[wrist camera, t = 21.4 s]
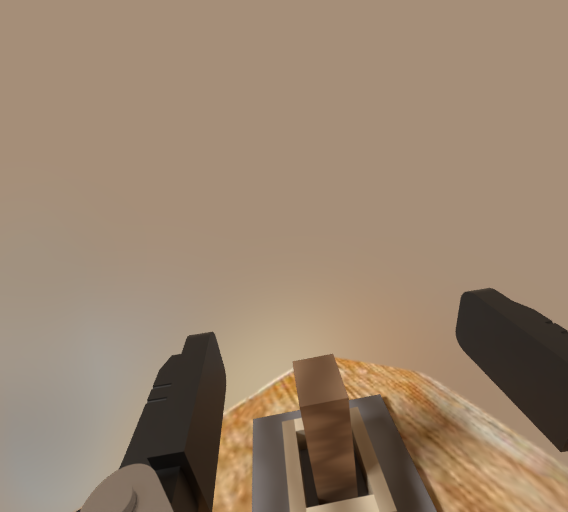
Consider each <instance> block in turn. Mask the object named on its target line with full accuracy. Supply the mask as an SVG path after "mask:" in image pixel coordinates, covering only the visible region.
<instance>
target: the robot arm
mask: <svg viewBox="0 0 568 512" xmlns="http://www.w3.org/2000/svg"><path fill="white" fill-rule="evenodd" d="M456 338H457V340H458V343H459V345H460V346H461V348H462V349H463V351H464V352H465V353H466V354H467V355H468V356H469V357H470V358H471V359H472V360H473V361H474V362H475V363H476V364H477V365H478V366H479V367H480V368H481V369H482V370H483V371H484V372H485V374H486V375H488V376H489V378H490V379H491V380H492V381H493V382H494V383H495V384H496V385H497V386H498V387H499V388H500V389H501V390H502V391H503V392H504V393H505V394H506V395H507V396H508V398H509V399H511V401H512V402H513V403H514V404H515V405H516V406H517V407H518V408H519V409H520V410H521V411H522V412H523V413H524V414H525V415H526V416H527V417H528V418H529V419H530V420H531V421H532V422H533V424H534V425H535V426H536V427H537V428H538V429H539V430H540V431H541V432H542V433H543V434H544V435H545V436H546V437H547V438H548V439H549V440H550V441H551V442H552V443H553V444H554V445H555V447H556V448H557V449H558V450H559V451H560V452H565V451H568V331H567V330H566V329H564V328H562V327H561V326H559V325H558V324H556V323H554V324H553V323H552V321H551V320H550V319H548V318H546V317H545V316H543V315H542V314H540V313H538V312H537V311H535V310H534V309H531V308H529V307H526V306H524V305H521V304H519V303H516V302H514V301H512V300H510V299H509V298H507V297H506V296H504V295H503V294H501V293H499V292H498V291H496V290H495V289H491V288H487V289H481V290H474V291H468V292H465V293H463V295H462V296H461V300H460V306H459V312H458V318H457V325H456ZM225 392H226V374H225V369H224V364H223V361H222V357H221V354H220V350H219V347H218V343H217V340H216V337H215V334H214V333H213V332H208V333H202V334H196V335H189V336H188V337H187V339H186V342H185V345H184V348H183V351H182V354H178V355H172V356H171V357H170V358H169V359H168V361H167V362H166V363H165V364H164V365H163V367H162V368H161V369H160V370H159V372H158V375H157V378H156V380H155V382H154V385H153V389H152V390H151V392H150V395H149V397H148V399H147V401H148V402H147V404H146V405H145V407H144V409H143V412H142V415H141V417H140V419H139V422H138V424H137V427H136V429H135V432H134V434H133V437H132V439H131V442H130V444H129V446H128V449H127V451H126V454H125V456H124V459H123V461H122V463H121V466H120V468H119V470H117V471H115V472H114V473H112V474H111V475H110V476H108V477H107V478H106V479H105V480H103V482H101V483H100V484H99V485H98V486H97V487H96V489H95V490H94V491H93V492H92V493H91V495H90V496H89V497H88V499H87V500H86V502H85V503H84V505H83V507H82V509H80V510H78V511H77V512H212V507H213V498H214V489H215V480H216V472H217V463H218V454H219V445H220V437H221V428H222V419H223V410H224V402H225Z"/></svg>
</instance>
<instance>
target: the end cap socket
mask: <svg viewBox="0 0 568 512" xmlns="http://www.w3.org/2000/svg"><path fill="white" fill-rule="evenodd" d="M349 408H350V418H351V429H352V439H353V449H354V460H355V470H356V480H357V491H358V498H353V499H348V500H343V501H338V502H333V503H329V504H324V505H319V502H318V497H317V492H316V487H315V482H314V477H313V472H312V467H311V462H310V457H309V452H308V447H307V442H306V437H305V431H304V426H303V421H302V416H301V411H300V410H298V411H292V412H287V413H282V414H277V415H272V416H267V417H262V418H257V419H253V475H252V512H437V511H436V509H435V507H434V505H433V502H432V500H431V498H430V496H429V494H428V492H427V490H426V488H425V486H424V484H423V482H422V480H421V478H420V476H419V474H418V471H417V469H416V467H415V465H414V463H413V461H412V459H411V457H410V455H409V453H408V451H407V449H406V447H405V445H404V443H403V440H402V438H401V436H400V434H399V432H398V430H397V428H396V426H395V424H394V422H393V420H392V418H391V416H390V414H389V412H388V409H387V407H386V405H385V403H384V401H383V399H382V397H381V395H380V394H379V395H374V396H369V397H364V398H359V399H354V400H349Z"/></svg>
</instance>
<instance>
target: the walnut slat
mask: <svg viewBox="0 0 568 512" xmlns="http://www.w3.org/2000/svg"><path fill="white" fill-rule="evenodd" d="M293 368H294V375H295V381H296V387H297V393H298V400H299V406H300V411H301V416H302V421H303V426H304V431H305V437H306V442H307V447H308V452H309V457H310V462H311V467H312V472H313V477H314V482H315V487H316V492H317V497H318V502H319V505H324V504H329V503H333V502H338V501H343V500H348V499H353V498H358V491H357V480H356V470H355V460H354V449H353V439H352V429H351V418H350V408H349V398H348V395H347V392H346V389H345V386H344V384H343V381H342V378H341V375H340V372H339V369H338V367H337V364H336V361H335V358H334V355H333V354H330V355H324V356H319V357H314V358H309V359H304V360H298V361H293Z"/></svg>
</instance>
